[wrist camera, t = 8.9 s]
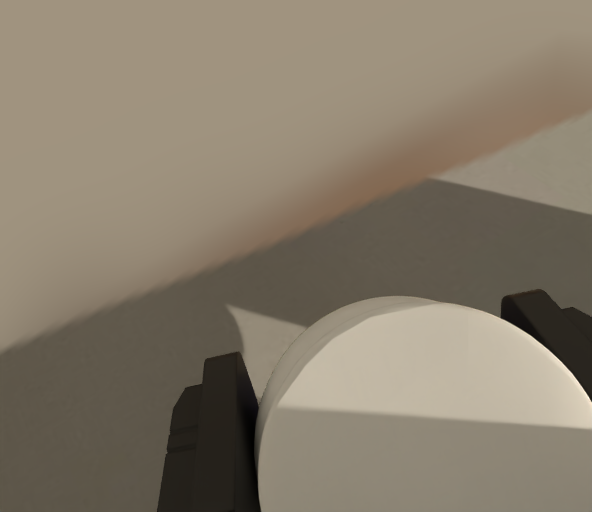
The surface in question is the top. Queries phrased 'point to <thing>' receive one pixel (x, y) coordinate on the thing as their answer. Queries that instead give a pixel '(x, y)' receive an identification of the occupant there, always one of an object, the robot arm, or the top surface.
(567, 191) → the top surface
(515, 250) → the top surface
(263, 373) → the top surface
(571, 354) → the robot arm
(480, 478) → the pill bottle
